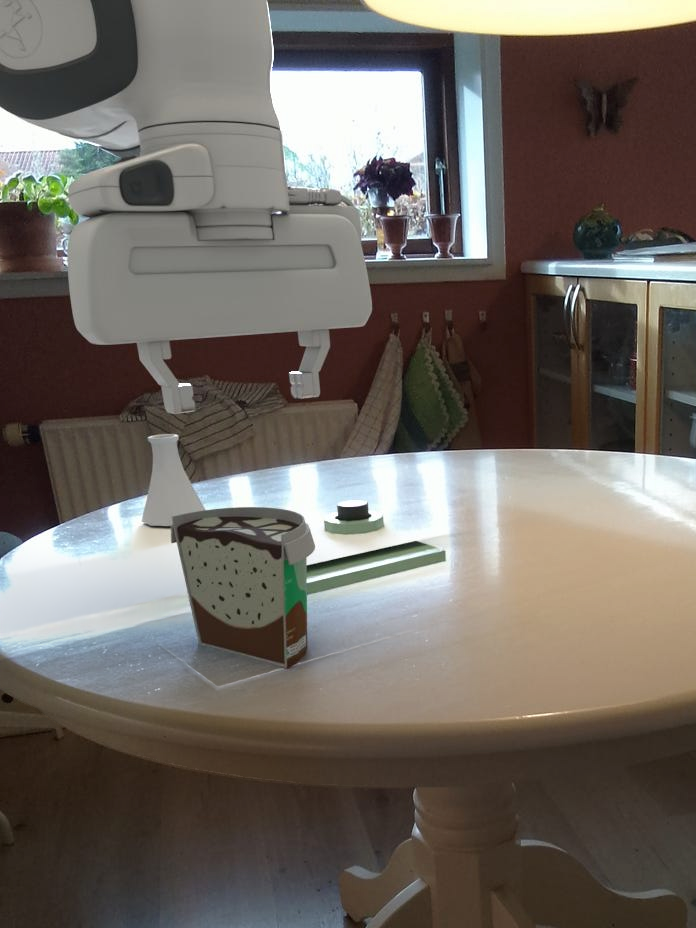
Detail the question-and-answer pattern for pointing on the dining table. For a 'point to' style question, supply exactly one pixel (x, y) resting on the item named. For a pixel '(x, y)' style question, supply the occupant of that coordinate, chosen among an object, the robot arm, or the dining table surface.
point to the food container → (247, 580)
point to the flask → (168, 484)
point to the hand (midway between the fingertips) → (246, 404)
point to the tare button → (352, 510)
